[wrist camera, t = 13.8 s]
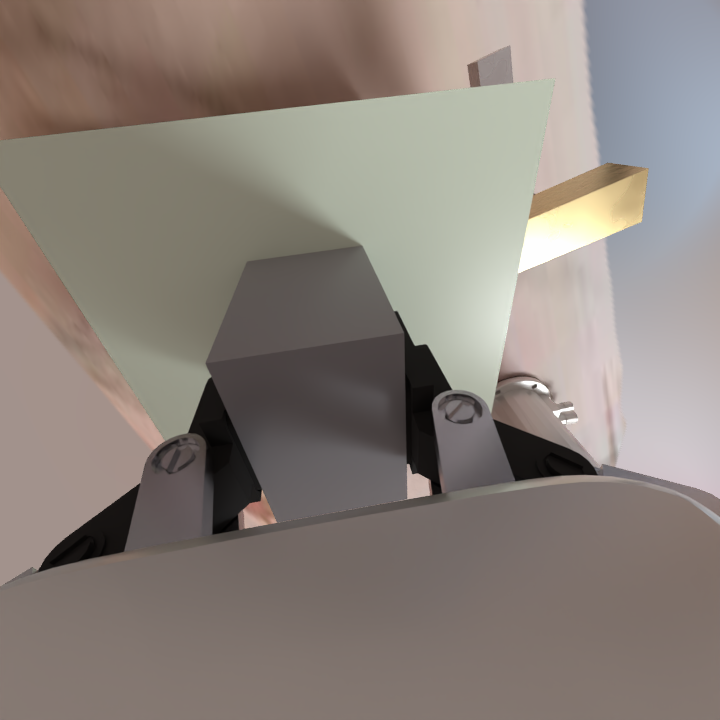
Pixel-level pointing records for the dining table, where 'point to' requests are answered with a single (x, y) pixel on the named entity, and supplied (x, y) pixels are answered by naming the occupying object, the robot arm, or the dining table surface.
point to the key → (570, 191)
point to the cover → (295, 266)
